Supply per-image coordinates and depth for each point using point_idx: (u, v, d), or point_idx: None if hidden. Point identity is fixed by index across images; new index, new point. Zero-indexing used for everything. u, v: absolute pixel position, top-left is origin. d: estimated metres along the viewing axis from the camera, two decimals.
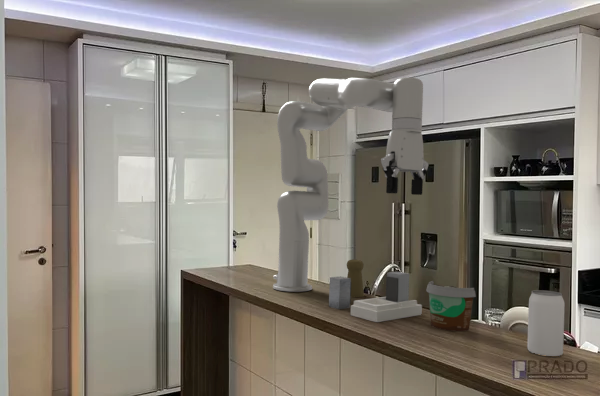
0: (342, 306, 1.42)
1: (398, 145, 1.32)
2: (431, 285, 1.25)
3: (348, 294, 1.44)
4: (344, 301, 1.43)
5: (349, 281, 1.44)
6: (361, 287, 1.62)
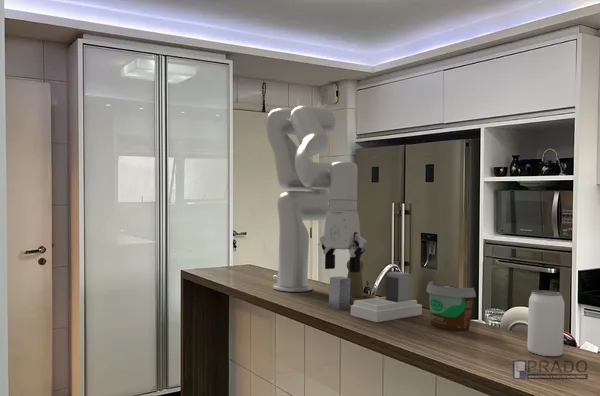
0: (342, 306, 1.42)
1: (359, 226, 1.41)
2: (431, 285, 1.25)
3: (348, 294, 1.44)
4: (344, 301, 1.43)
5: (349, 281, 1.44)
6: (361, 287, 1.62)
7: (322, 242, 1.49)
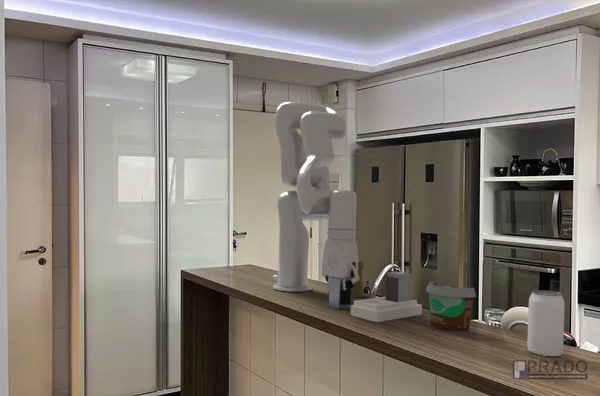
0: (342, 306, 1.42)
1: (357, 256, 1.42)
2: (431, 285, 1.25)
3: None
4: None
5: None
6: (361, 287, 1.62)
7: (325, 275, 1.48)
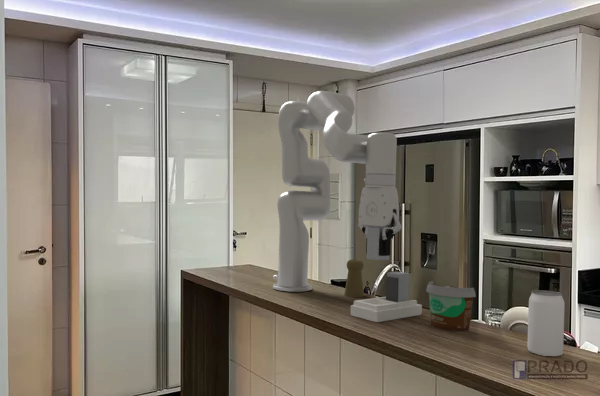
0: (381, 257, 1.32)
1: (398, 203, 1.31)
2: (431, 285, 1.25)
3: None
4: None
5: None
6: (361, 287, 1.62)
7: (361, 226, 1.38)
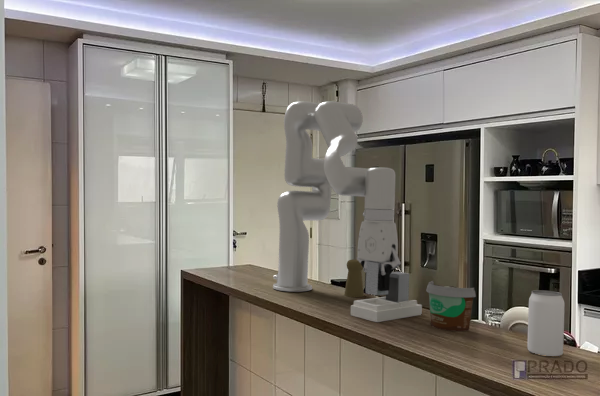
0: (380, 292, 1.32)
1: (396, 238, 1.31)
2: (431, 285, 1.25)
3: None
4: None
5: None
6: (361, 287, 1.62)
7: (360, 260, 1.38)
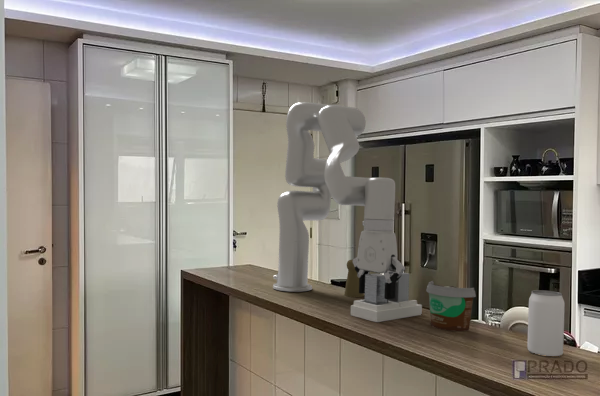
0: None
1: (396, 248, 1.31)
2: (431, 285, 1.25)
3: None
4: (381, 300, 1.32)
5: None
6: None
7: (355, 264, 1.39)
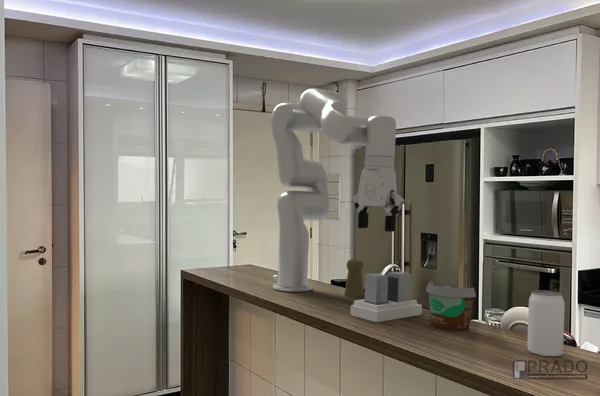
0: None
1: (395, 184, 1.36)
2: (431, 285, 1.25)
3: (385, 292, 1.33)
4: (381, 300, 1.32)
5: (386, 278, 1.33)
6: (361, 287, 1.62)
7: (355, 200, 1.44)
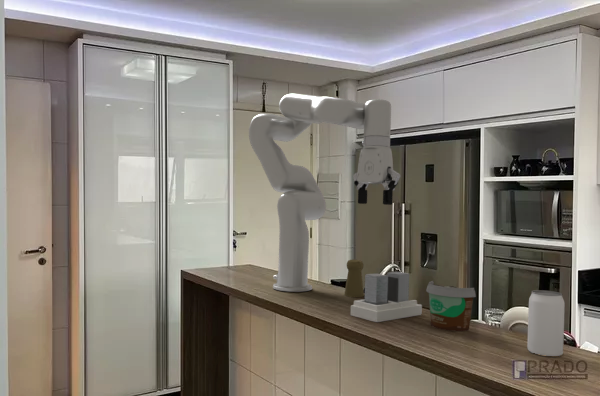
0: None
1: (392, 162, 1.48)
2: (431, 285, 1.25)
3: (385, 292, 1.33)
4: (381, 300, 1.32)
5: (386, 278, 1.33)
6: (361, 287, 1.62)
7: (355, 179, 1.56)
